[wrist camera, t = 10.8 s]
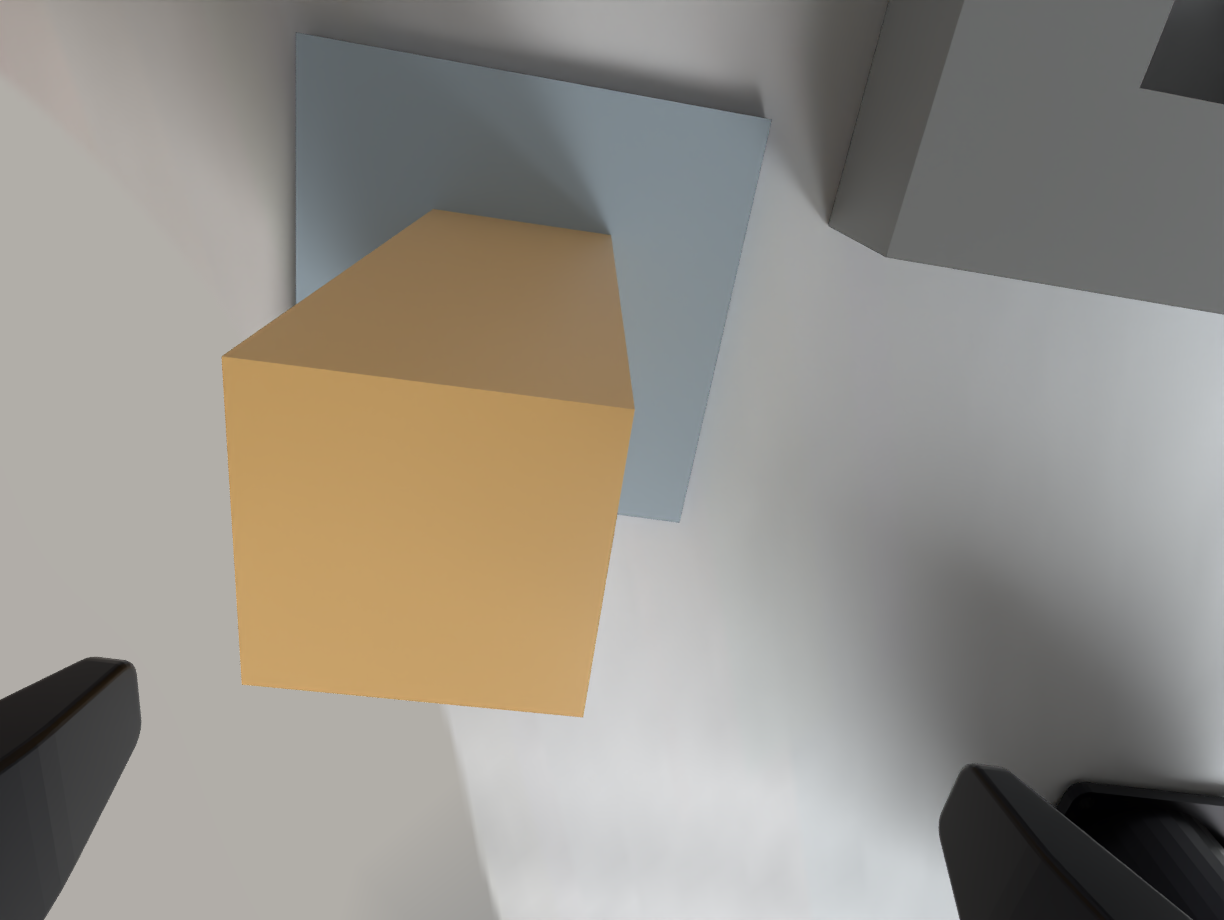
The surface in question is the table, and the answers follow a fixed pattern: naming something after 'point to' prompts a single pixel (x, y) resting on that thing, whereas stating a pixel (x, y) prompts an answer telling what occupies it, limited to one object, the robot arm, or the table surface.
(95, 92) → the table surface
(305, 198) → the pad
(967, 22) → the grey square hole base
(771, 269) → the table surface
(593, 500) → the tan rectangular block
